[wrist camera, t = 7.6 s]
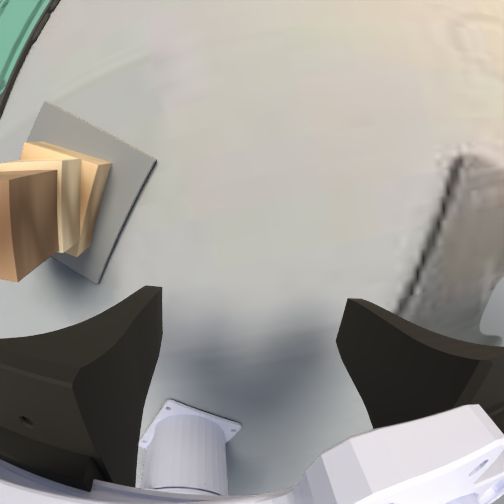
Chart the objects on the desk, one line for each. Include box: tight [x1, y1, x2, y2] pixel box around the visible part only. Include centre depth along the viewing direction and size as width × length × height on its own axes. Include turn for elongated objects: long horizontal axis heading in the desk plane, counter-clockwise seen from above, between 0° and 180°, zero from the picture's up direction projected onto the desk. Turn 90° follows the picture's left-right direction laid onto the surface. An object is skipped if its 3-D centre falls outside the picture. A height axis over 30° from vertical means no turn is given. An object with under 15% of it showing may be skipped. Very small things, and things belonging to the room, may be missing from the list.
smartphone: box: [0, 0, 59, 116], centre depth 13 cm, size 7×1×15 cm
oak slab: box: [20, 142, 112, 257], centre depth 17 cm, size 6×6×2 cm
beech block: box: [0, 159, 81, 253], centre depth 15 cm, size 5×5×2 cm
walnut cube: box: [0, 170, 59, 282], centre depth 11 cm, size 4×4×4 cm
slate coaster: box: [20, 102, 157, 284], centre depth 18 cm, size 10×10×1 cm
